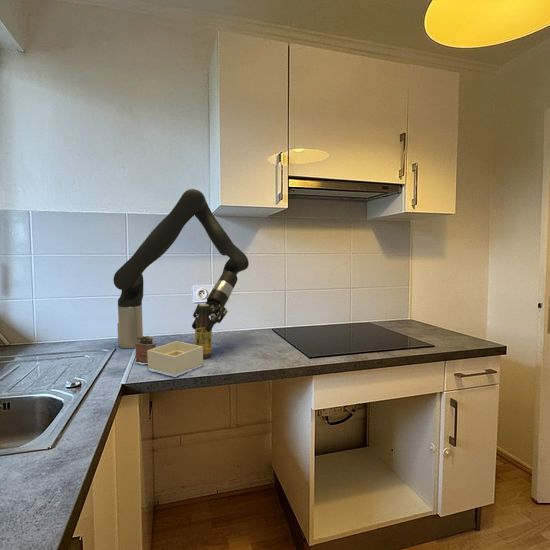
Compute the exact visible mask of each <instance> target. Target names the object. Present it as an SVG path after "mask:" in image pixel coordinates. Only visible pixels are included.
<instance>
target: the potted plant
mask: <svg viewBox="0 0 550 550" xmlns="http://www.w3.org/2000/svg"><path fill="white" fill-rule="evenodd" d="M153 338H154V337H153V336H150V335H145V336H144V335H143V336H137V340H140V341H138V342H135V345H136V348H135V363H136V362H141V363H148V358H147V350H150V349H153V348H156V347H157V342H153V340H154V339H153Z"/></svg>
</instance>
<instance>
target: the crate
mask: <svg viewBox="0 0 550 550" xmlns="http://www.w3.org/2000/svg"><path fill="white" fill-rule="evenodd" d="M147 358H148V365H147V369H148V368H151V369H154V370H158V371H162V372H167V373H171V374H174V375H176V374H178V373H181V372H184V371H187V370H189V369H192V368H195V367H198V366H200V365H203V366H204V358H203V346H198V345H195V344H193V343H189V342H188V343H187V342H183V341H178V340H175V341H173V342H170V343H167V344H166V343H165V344H162V345H160V346H156V348H153V349H150V350H147Z"/></svg>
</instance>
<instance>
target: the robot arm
mask: <svg viewBox="0 0 550 550" xmlns="http://www.w3.org/2000/svg"><path fill="white" fill-rule="evenodd" d="M193 217H195V218H196V219H197V221H199V222H200V224H201V225H202V227H203V229H204V230H205V231H206V234H207V236H208V238H209V239H210V241H211V243H212V244H213V246H214V247H215V248H216V250H217V251H218V252H219V254H220V255H221V256H227V257H228V258H229V259H227V261H226V262H225V263H224V266H223V269H222V273H221V275H220V277H219V278H218V280H217V282H216V283H215V284H214V286H213V288H212V289H211V291H210V293H209V294H208V296H207V298H206V303H204V304H207V305H209V317H210V320H211V321H209V323H208V324H207V326H206V328H205V330H206V331H207V332H210V331H211V330H212V329H213V328H214V326H215V325H216V324H221V322H222V321H223V319H224V318H225V317H226V315H227V313H228V312H229V311H228V310H227V308H226V307H225V306H226V304H227V302H228V301H229V298H230V297H231V295H232V292H233V290H234V288H235V286H236V284H237V283H238V276H237V275H238V274H239V273H240V272H243V271H245V270H247V269H248V268H249V264H250V263H249V259H248V257H247V256H246V254H245V252H243V251H242V250H241V249H240V248H239V247H237V246H236V245H235V244H234V243H233V241H232V239H231V237H229V235H228V234H227V232H226V231H225V230H224V228H223V227H222V226H221V224H220V223H219V220H217V219H216V217H215V215H214V214H213V212H212V210H211V208H210V206H209V204H208V202H207V200H206V197H205V195H204V194H203V192H201V191H200V190H198V189H195V188H189V189H187V190H185V191H184V192H183V193H182V195H181V196H180V198H179V200H178V201H177V203H176V204H175V206H174V207H173V208H172V209H171V211H170V212H169V213H168V214H167V215H166V216H165V217H164V218H163V219H162V220H161V221H159V223H158V224H157V225H156V226H155V228H153V230H151V232H150V233H149V235H148V236H147V237H146V238H145V239H144V241H143V242H142V243H141V244H140V245H139V247H138V249H136V251H135V252H134V253H133V255H131V257H130V258H129V259H128V260H127V261H126V262H125V263H124V264H123V265H122V266H121V267H119V268H118V269H117V270H116V272H115V273H114V276H113V278H112V281H113V285H114V286H115V288H117V290H120V291H121V292H120V296H119V298H118V299H117V315H118V323H117V325H116V326H117V344H118V346H119V348H121V349H136V345H135V342H138V341H140V340H137V336H144V334H143V333H144V332H143V331H144V328H143V305H142V303H143V297H144V276H143V273H144V271H145V270H146V269H147V268H148V267H149V266H150V265H151V264H153V263H154V262H156V261H157V260H158V259H159V258H161V257H162V256H163V255H165V253H166V252H168V250H169V249H170V248H171V246H172V245H173V244H174V243H175V241H176V240H177V239H178V237H179V236H180V234H181V232H182V231H183V229H184V227H185V225H186V224H187V223H188V222H189V221H190V220H191V219H192V218H193ZM200 304H201V303H198V304H197V306H196V308H195V310H194V312H193V314H192V317H193V318H194V320H193V321H192V324H191V328H192V329H193V330H195V328H196V321H197V319H198V317H199V309H198V305H200ZM212 331H213V330H212Z"/></svg>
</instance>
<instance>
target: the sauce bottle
mask: <svg viewBox="0 0 550 550" xmlns="http://www.w3.org/2000/svg"><path fill="white" fill-rule="evenodd" d="M199 304H200V305H198V304H197V305H198V309H199V317H198V319H197V321H196V328H195V329H194V330H195V331H194V345H198V346H203V359H206V358H210V356H211V355H212V344H213V343H212V342H213V339H212V336H213V335H212V334H213V332H212V331H213V330H211V331H210V332H207V331H206V330H205V328H206V326H207V324H208V323H209V321H211V317H210V316H209V305H207V304H205V303H203V304H202V303H199Z"/></svg>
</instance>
